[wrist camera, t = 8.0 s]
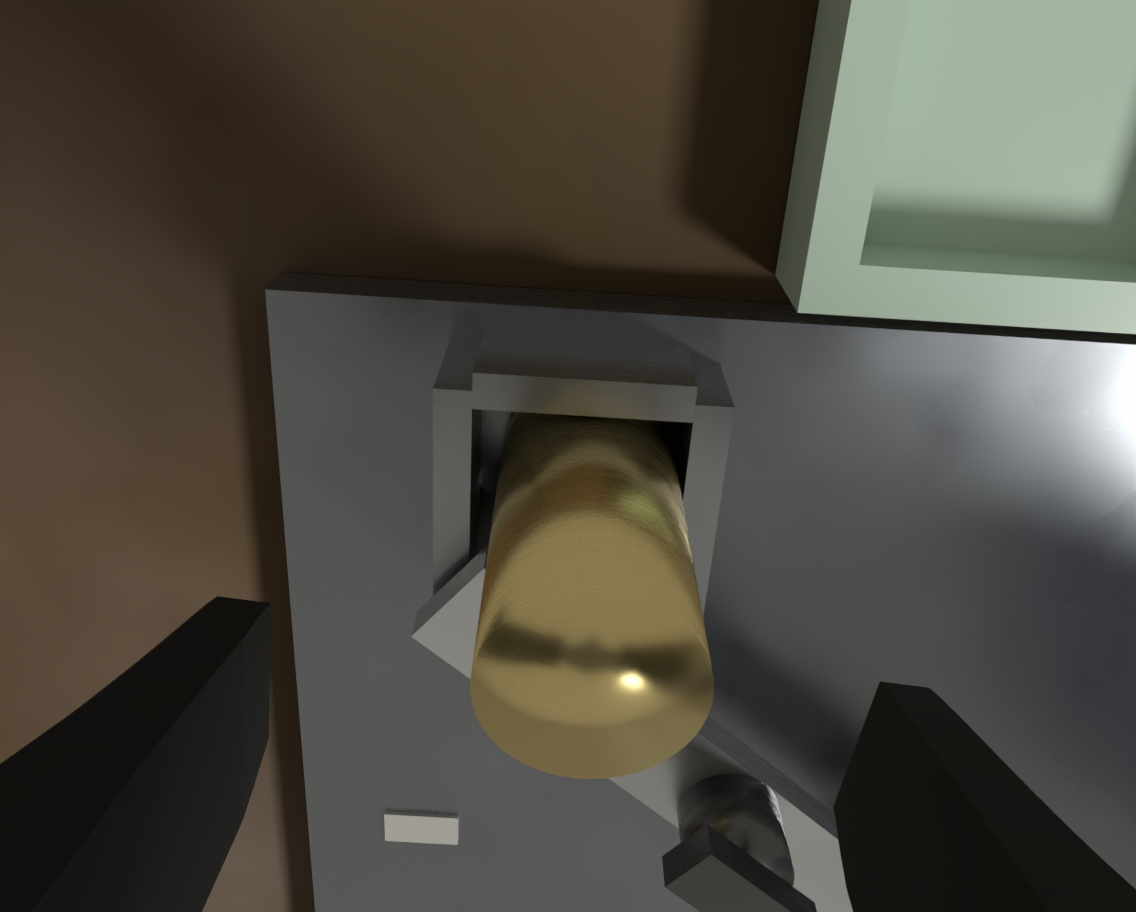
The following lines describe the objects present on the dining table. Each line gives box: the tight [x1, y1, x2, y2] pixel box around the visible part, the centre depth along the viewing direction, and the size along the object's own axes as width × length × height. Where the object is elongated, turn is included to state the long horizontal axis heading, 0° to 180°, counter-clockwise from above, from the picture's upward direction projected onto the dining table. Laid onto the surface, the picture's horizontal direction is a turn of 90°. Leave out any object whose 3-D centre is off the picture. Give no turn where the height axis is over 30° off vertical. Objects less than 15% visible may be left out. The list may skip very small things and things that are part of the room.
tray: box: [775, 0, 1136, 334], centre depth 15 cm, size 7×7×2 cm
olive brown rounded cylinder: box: [470, 412, 714, 779], centre depth 15 cm, size 3×3×6 cm
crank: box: [411, 545, 853, 912], centre depth 18 cm, size 14×3×5 cm, turn 47°
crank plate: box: [265, 272, 1136, 912], centre depth 20 cm, size 22×18×3 cm
